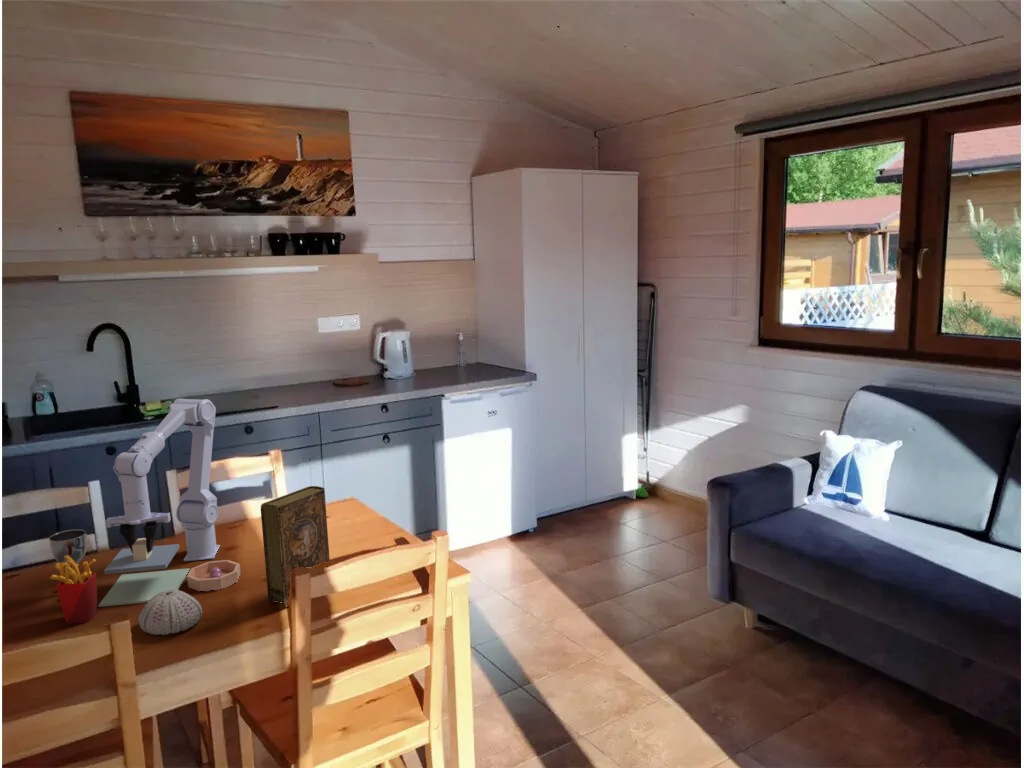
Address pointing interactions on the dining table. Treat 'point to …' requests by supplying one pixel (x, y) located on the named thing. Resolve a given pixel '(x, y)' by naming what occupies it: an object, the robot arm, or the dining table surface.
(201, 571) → the bowl
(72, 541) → the silver goblet
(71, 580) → the french fries
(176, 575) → the mat
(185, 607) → the sea urchin shell
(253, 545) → the dining table surface
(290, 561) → the book
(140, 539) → the lid
